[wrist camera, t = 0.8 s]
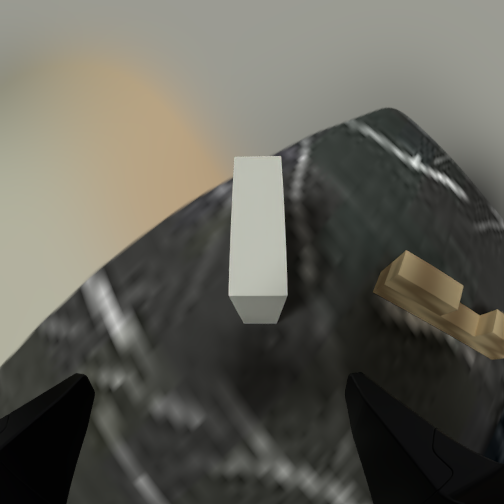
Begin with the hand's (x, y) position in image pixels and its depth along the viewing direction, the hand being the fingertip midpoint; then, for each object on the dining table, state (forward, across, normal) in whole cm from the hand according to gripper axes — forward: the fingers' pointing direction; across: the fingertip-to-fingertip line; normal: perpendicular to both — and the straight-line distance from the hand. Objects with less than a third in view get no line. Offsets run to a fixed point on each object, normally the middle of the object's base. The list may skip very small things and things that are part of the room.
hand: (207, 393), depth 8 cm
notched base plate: (+11, -18, +7) cm, 22 cm away
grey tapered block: (+15, -2, +2) cm, 15 cm away
